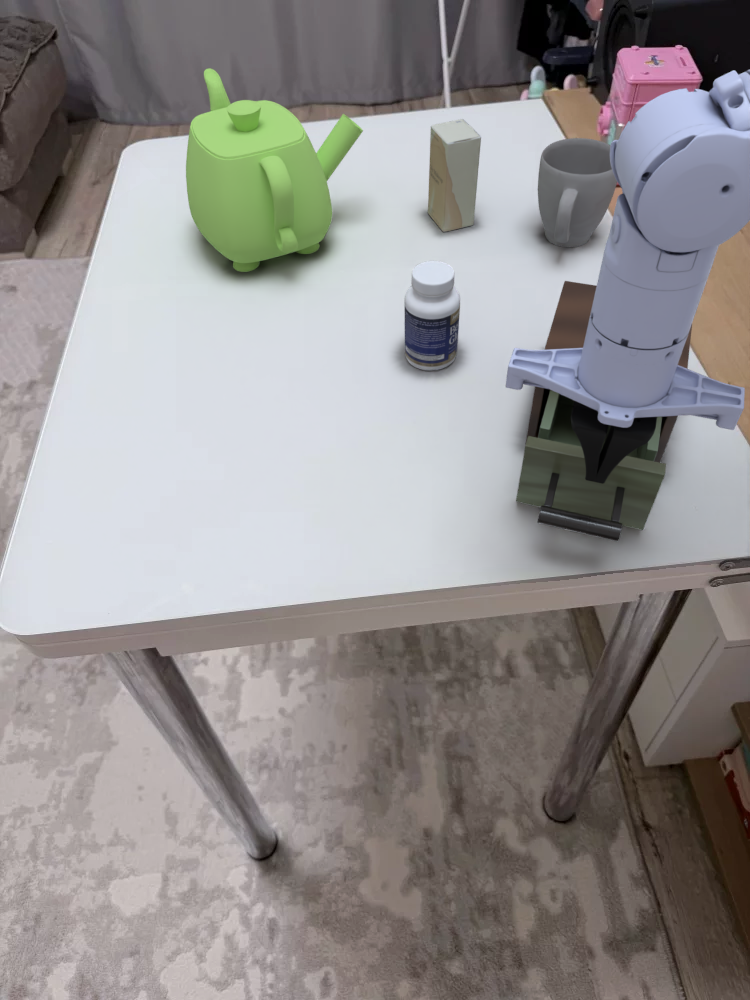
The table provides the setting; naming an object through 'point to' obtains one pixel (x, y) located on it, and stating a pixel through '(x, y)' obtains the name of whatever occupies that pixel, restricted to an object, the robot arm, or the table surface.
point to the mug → (574, 189)
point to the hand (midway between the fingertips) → (596, 472)
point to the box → (453, 174)
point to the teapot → (260, 178)
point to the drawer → (568, 495)
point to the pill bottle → (431, 316)
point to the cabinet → (571, 334)
